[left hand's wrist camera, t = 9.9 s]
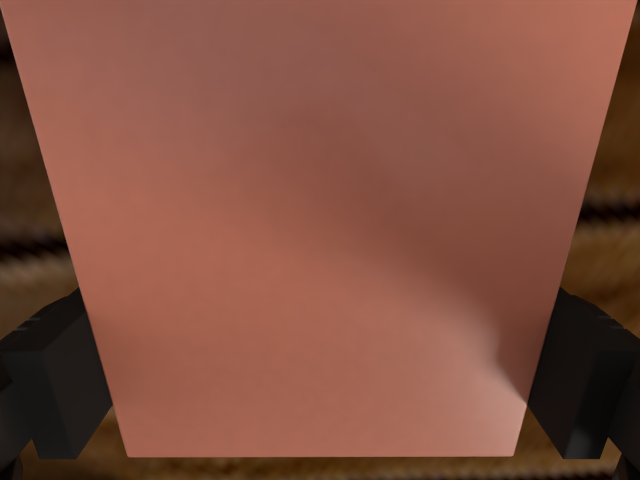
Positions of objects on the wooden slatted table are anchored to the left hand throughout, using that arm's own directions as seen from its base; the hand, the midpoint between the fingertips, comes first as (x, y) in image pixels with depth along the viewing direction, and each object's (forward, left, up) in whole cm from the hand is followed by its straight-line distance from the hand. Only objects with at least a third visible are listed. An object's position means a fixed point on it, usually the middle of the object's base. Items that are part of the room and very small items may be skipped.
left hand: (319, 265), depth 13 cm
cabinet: (+1, +7, -4) cm, 8 cm away
